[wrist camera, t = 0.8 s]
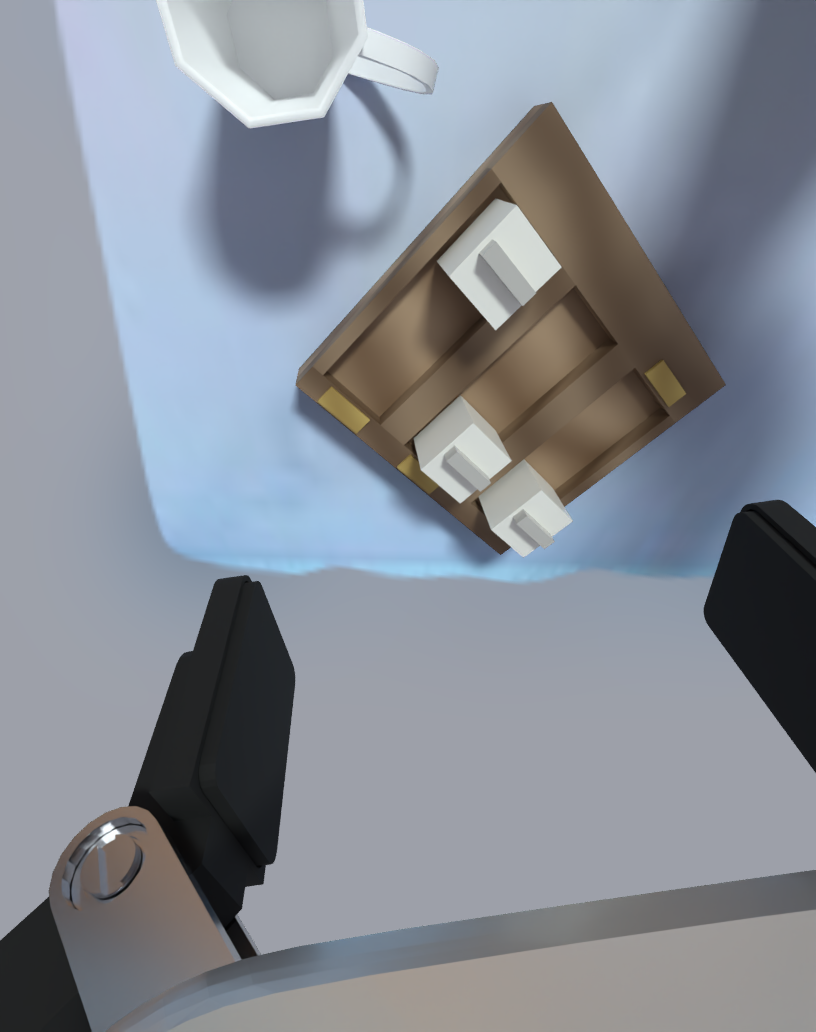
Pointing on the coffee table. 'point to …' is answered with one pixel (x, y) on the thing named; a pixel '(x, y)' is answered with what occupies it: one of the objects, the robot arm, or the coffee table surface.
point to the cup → (286, 54)
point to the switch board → (520, 336)
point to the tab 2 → (524, 509)
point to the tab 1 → (499, 262)
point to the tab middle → (460, 450)
